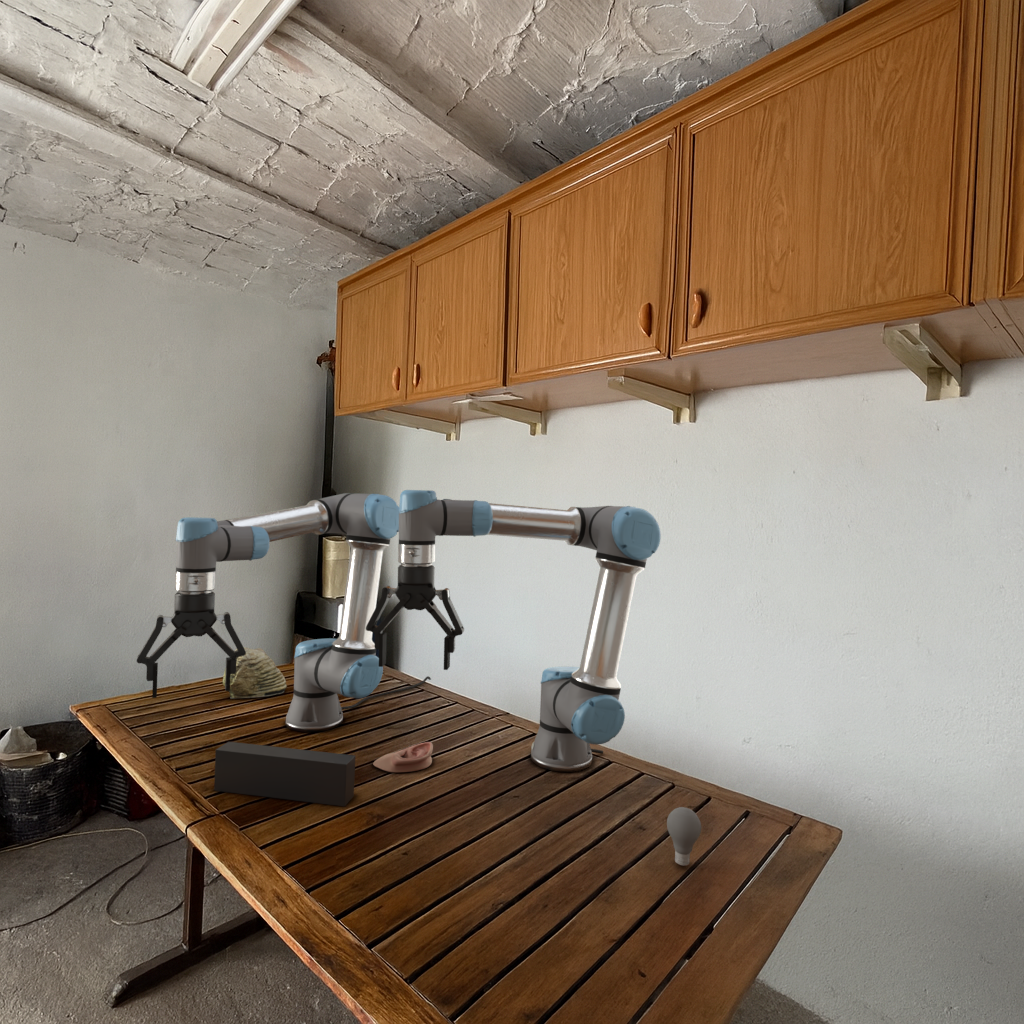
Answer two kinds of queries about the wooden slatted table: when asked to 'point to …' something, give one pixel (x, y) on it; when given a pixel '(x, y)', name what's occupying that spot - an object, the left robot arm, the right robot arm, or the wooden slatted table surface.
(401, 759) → the anatomical model
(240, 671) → the fossil
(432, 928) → the wooden slatted table surface
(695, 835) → the light bulb
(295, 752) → the bar
